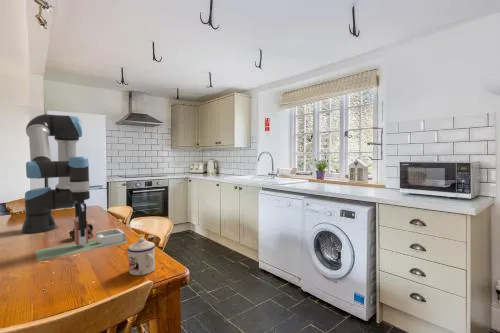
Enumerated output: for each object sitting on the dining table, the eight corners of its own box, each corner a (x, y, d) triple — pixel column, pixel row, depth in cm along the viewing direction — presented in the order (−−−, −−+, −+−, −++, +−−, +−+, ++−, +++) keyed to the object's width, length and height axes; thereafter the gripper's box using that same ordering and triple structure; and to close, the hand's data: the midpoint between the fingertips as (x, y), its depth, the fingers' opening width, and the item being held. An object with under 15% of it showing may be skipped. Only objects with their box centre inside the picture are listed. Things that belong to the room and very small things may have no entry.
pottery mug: (87, 242, 132) (77, 228, 131) (73, 249, 134) (62, 236, 132) (101, 229, 144) (92, 216, 142) (88, 236, 146) (78, 224, 144)
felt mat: (34, 250, 119) (34, 250, 119) (118, 235, 142) (118, 234, 142) (37, 261, 107) (37, 260, 107) (127, 242, 130) (127, 242, 130)
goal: (96, 240, 133) (96, 231, 133) (118, 235, 140) (118, 228, 140) (102, 246, 124) (102, 237, 124) (125, 241, 131) (125, 233, 131)
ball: (103, 232, 131) (104, 240, 131) (93, 235, 129) (95, 243, 129) (104, 234, 128) (105, 242, 128) (94, 237, 125) (95, 245, 126)
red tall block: (74, 242, 124) (74, 216, 124) (86, 240, 127) (85, 215, 127) (76, 245, 121) (75, 218, 120) (88, 243, 124) (87, 216, 123)
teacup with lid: (123, 271, 98) (122, 239, 97) (147, 263, 104) (147, 233, 104) (140, 281, 90) (139, 246, 89) (164, 272, 96) (164, 239, 96)
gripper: (67, 189, 127) (69, 239, 128) (72, 193, 114) (74, 248, 115) (85, 188, 132) (87, 236, 133) (93, 192, 119) (95, 245, 120)
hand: (81, 242), depth 124 cm, fingers closed on red tall block, 4 cm apart
